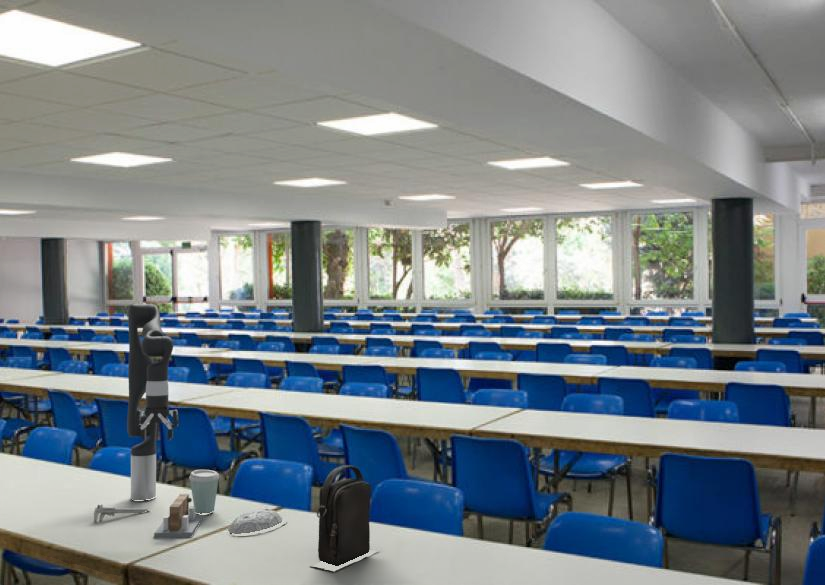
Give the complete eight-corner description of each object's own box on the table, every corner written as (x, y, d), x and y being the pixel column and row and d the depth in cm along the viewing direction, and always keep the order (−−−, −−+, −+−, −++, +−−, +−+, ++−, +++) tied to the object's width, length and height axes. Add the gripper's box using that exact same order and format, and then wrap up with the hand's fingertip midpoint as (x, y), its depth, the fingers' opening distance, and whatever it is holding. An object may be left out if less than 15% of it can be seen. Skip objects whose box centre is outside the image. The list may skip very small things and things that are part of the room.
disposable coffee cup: (223, 509, 288) (223, 468, 288) (213, 517, 277) (213, 475, 277) (195, 508, 289) (195, 468, 289) (184, 516, 278) (184, 474, 278)
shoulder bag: (356, 546, 247) (357, 457, 247) (380, 552, 242) (380, 461, 242) (309, 567, 228) (309, 470, 228) (333, 573, 223) (334, 474, 223)
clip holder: (168, 520, 274) (168, 504, 274) (203, 519, 275) (203, 503, 275) (154, 537, 254) (154, 520, 254) (191, 536, 255) (191, 520, 255)
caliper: (95, 523, 270) (95, 505, 270) (93, 523, 271) (93, 505, 271) (150, 512, 285) (150, 495, 285) (149, 511, 286) (149, 494, 286)
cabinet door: (179, 517, 272) (179, 494, 272) (192, 517, 273) (192, 494, 273) (169, 531, 256) (169, 506, 256) (183, 531, 257) (183, 506, 257)
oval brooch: (212, 531, 261) (214, 511, 261) (265, 518, 281) (267, 499, 281) (245, 544, 252) (247, 524, 252) (297, 529, 273) (299, 510, 273)
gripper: (180, 392, 278) (179, 437, 278) (139, 392, 277) (138, 438, 277) (175, 394, 271) (175, 441, 271) (133, 395, 270) (133, 442, 270)
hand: (156, 439), depth 274 cm, fingers open, 8 cm apart
